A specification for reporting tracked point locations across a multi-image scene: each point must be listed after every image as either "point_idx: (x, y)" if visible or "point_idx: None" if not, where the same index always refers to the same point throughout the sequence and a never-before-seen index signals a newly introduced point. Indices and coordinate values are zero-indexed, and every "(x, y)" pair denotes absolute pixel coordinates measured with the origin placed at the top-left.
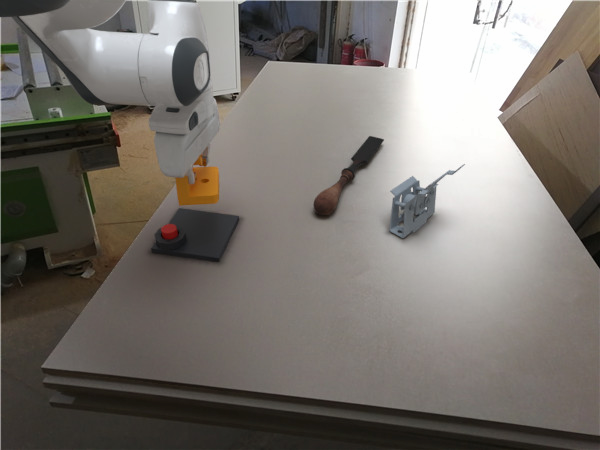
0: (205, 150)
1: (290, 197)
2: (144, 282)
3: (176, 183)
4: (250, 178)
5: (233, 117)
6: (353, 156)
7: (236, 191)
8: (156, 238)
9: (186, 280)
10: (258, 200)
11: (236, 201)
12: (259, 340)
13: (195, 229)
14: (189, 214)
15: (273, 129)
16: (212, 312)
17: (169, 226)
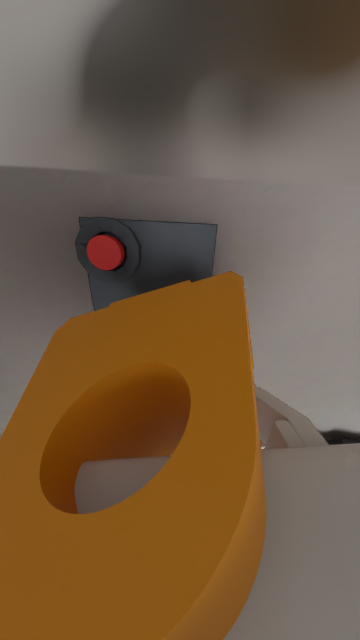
0: (259, 428)
1: (262, 383)
2: (9, 238)
3: (46, 353)
4: (321, 321)
5: None
6: (345, 443)
7: (282, 309)
8: (83, 228)
9: (47, 304)
10: (255, 347)
11: (252, 317)
12: (6, 403)
13: (155, 283)
14: (197, 255)
15: None
16: (13, 354)
17: (110, 252)
